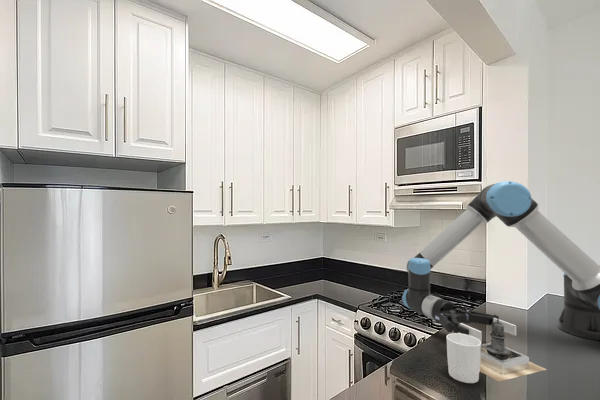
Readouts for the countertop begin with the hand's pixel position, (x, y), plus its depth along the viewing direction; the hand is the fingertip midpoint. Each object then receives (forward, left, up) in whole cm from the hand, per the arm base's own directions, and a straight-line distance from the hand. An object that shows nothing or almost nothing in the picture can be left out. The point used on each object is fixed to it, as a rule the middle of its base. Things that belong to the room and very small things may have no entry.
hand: (498, 333), depth 87 cm
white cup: (+15, +2, -9) cm, 17 cm away
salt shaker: (0, 0, -8) cm, 8 cm away
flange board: (0, 0, -9) cm, 9 cm away
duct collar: (0, 0, -8) cm, 8 cm away
